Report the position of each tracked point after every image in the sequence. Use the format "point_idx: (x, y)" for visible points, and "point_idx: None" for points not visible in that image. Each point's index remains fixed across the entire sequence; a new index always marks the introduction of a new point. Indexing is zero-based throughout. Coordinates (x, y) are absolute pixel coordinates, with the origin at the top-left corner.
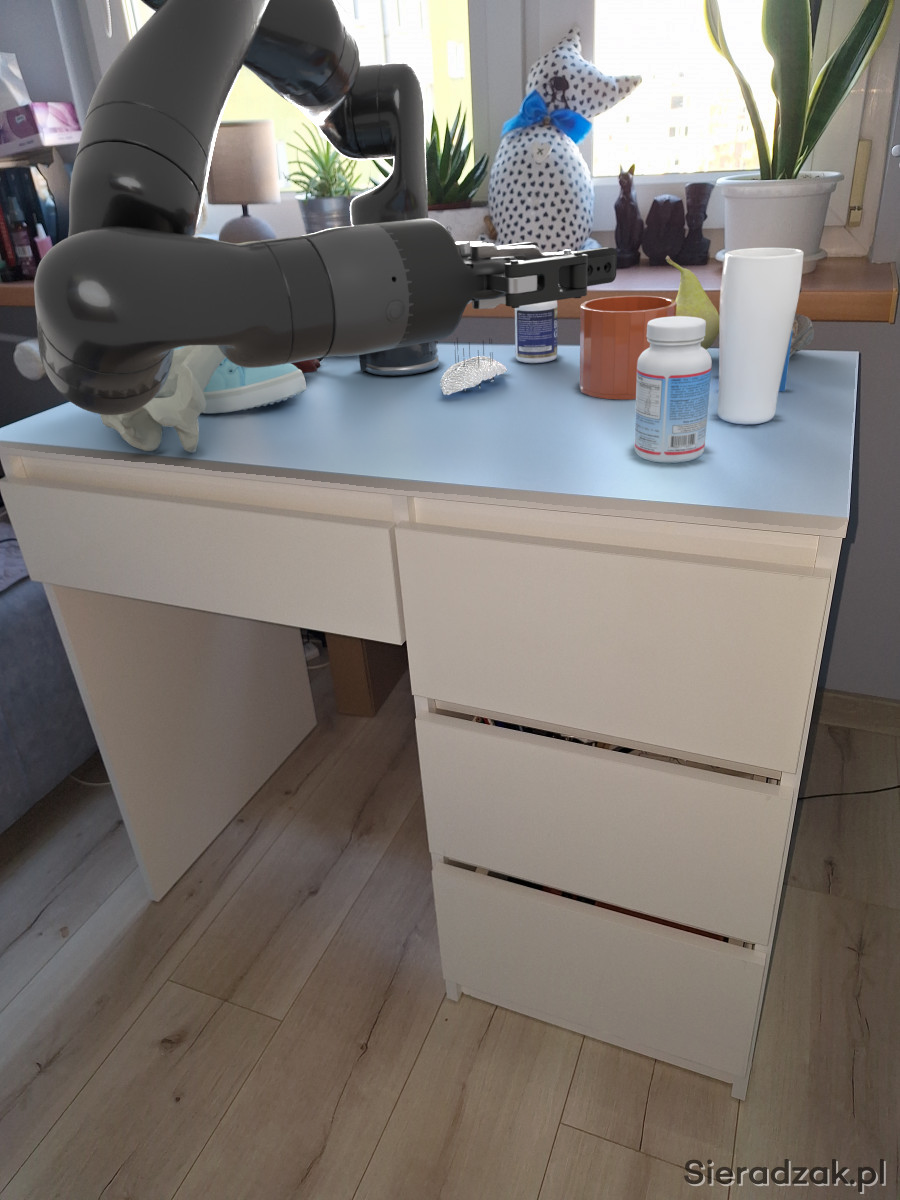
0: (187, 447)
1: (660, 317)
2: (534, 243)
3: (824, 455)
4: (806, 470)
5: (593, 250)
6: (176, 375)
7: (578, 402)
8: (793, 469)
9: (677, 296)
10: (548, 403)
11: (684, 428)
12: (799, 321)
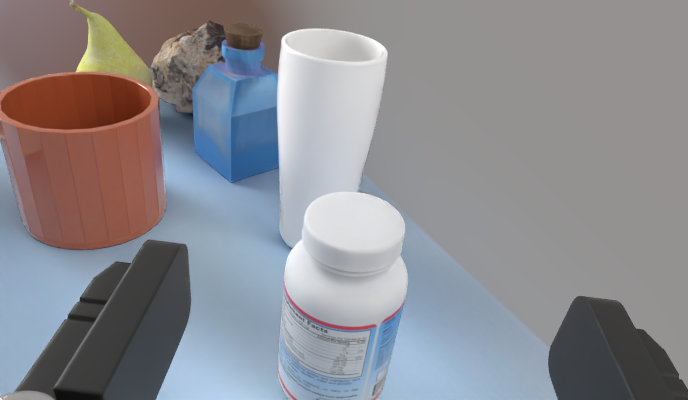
0: None
1: (153, 121)
2: (181, 251)
3: (464, 288)
4: (491, 333)
5: (658, 375)
6: None
7: (59, 274)
8: (480, 338)
9: (90, 48)
10: (5, 298)
11: (387, 365)
12: None
